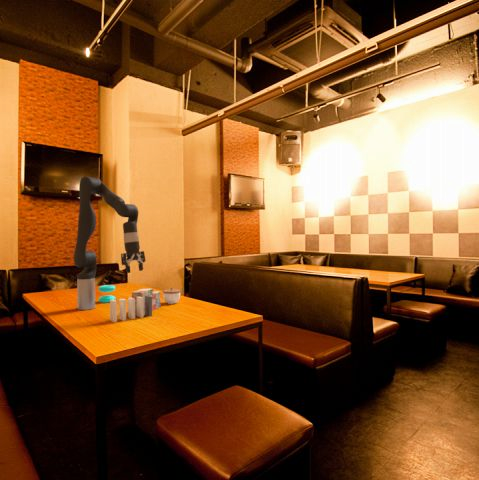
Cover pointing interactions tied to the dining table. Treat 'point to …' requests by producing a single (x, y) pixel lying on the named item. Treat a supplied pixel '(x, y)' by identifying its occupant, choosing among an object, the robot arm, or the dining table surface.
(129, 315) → the domino
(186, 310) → the dining table surface
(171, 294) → the lidded jar
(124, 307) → the domino
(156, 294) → the stack of blocks
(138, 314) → the domino
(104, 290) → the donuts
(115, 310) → the domino
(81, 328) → the dining table surface
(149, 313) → the domino
